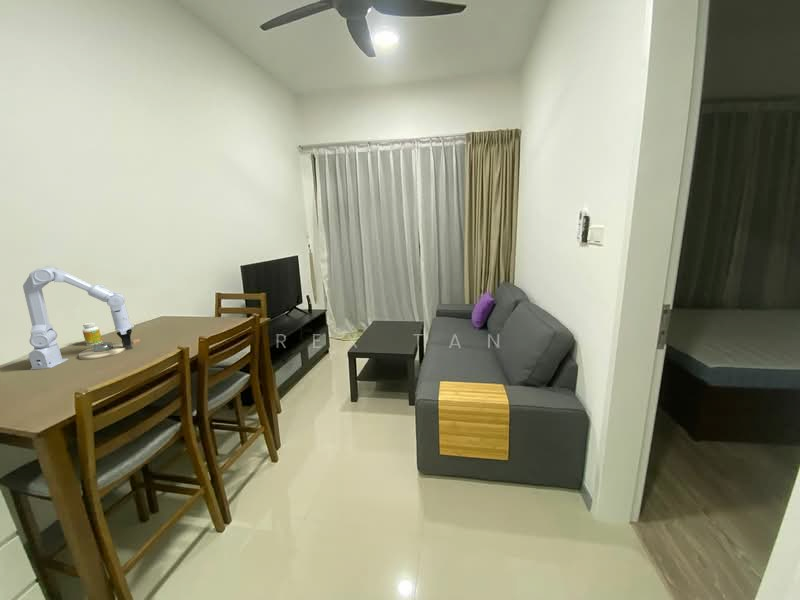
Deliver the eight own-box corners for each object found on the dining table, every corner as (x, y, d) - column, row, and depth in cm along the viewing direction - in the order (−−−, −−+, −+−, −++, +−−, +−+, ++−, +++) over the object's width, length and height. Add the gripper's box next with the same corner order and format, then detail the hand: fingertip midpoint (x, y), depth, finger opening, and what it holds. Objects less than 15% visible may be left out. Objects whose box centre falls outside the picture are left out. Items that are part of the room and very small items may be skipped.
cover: (109, 350, 154) (107, 344, 154) (91, 353, 152) (89, 346, 151) (115, 345, 161) (114, 339, 160) (98, 348, 158) (96, 341, 157)
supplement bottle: (94, 345, 167) (89, 325, 164) (82, 346, 167) (77, 325, 164) (105, 341, 173) (100, 321, 170) (94, 341, 173) (89, 321, 170)
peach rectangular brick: (133, 343, 168) (133, 341, 168) (132, 343, 168) (131, 340, 168) (140, 341, 171) (139, 339, 170) (138, 341, 171) (138, 338, 171)
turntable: (124, 354, 152) (122, 345, 151) (70, 362, 146) (67, 352, 144) (139, 342, 169) (137, 333, 168) (91, 348, 162) (88, 339, 161)
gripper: (131, 319, 152) (138, 346, 155) (131, 314, 163) (137, 339, 166) (111, 323, 148) (119, 350, 151) (113, 317, 159) (120, 342, 162)
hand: (127, 344), depth 158 cm, fingers closed
